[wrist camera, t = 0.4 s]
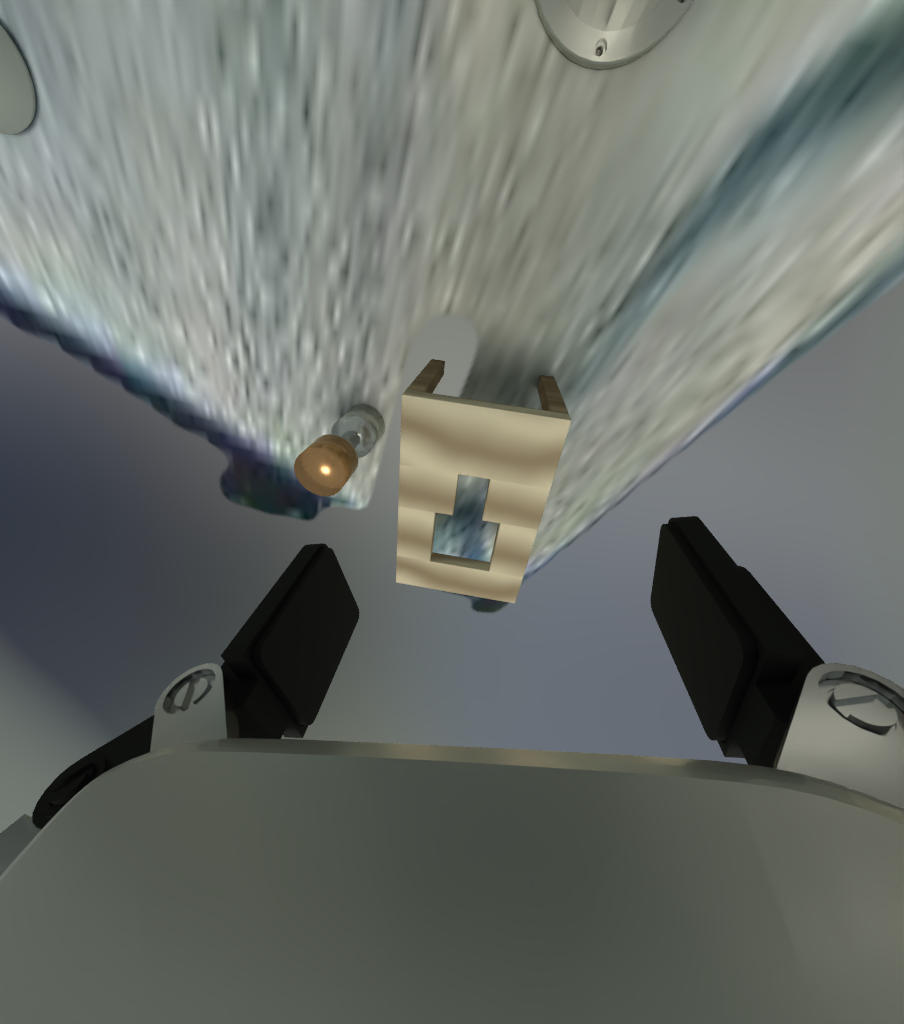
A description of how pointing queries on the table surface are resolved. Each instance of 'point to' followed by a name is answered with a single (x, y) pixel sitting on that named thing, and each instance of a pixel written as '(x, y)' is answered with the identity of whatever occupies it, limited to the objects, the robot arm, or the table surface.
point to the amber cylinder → (339, 451)
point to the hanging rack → (480, 453)
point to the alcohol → (14, 88)
